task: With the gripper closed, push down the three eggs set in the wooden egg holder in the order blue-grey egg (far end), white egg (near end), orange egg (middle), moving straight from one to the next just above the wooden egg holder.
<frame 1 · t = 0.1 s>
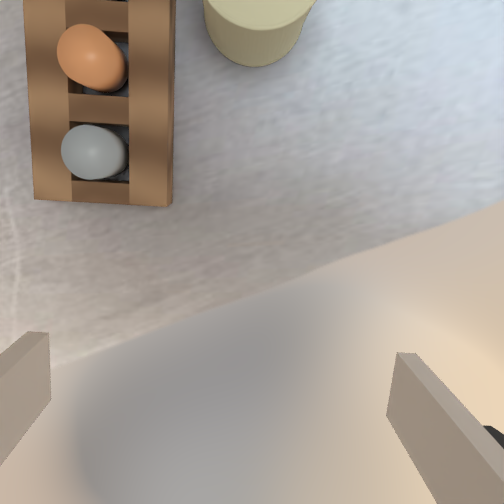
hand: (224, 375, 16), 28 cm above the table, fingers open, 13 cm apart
blue-grey egg: (97, 152, 36), point 4 cm above the table, slide at 0.0 cm
can: (254, 14, 38), on the table
wooden egg holder: (110, 71, 39), on the table
orange egg: (95, 61, 35), point 4 cm above the table, slide at 0.0 cm
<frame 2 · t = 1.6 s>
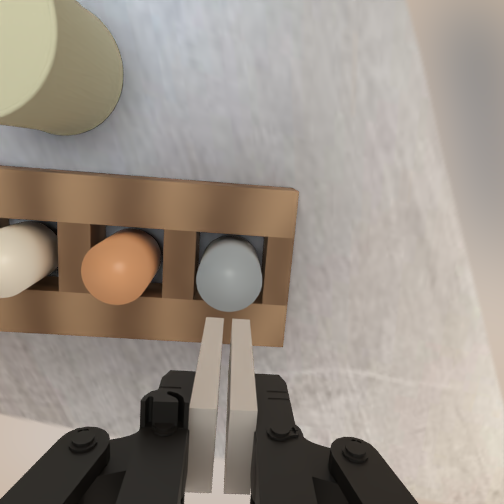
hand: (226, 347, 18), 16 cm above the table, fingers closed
white egg: (16, 257, 29), point 4 cm above the table, slide at 0.0 cm
blue-grey egg: (229, 271, 30), point 4 cm above the table, slide at 0.0 cm
can: (61, 70, 30), on the table
wooden egg holder: (138, 251, 33), on the table
orange egg: (124, 264, 29), point 4 cm above the table, slide at 0.0 cm
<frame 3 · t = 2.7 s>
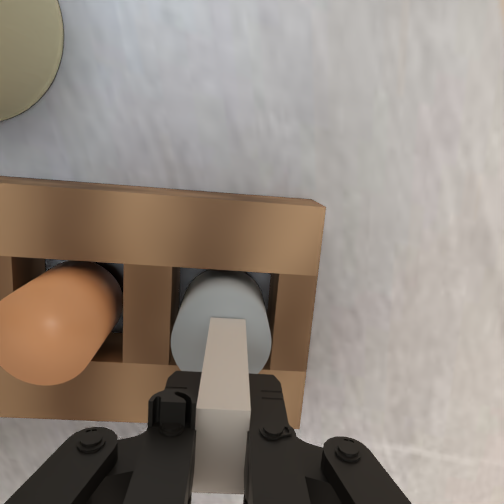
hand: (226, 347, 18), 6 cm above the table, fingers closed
blue-grey egg: (222, 322, 20), point 4 cm above the table, slide at 0.4 cm, touching gripper
wooden egg holder: (92, 289, 23), on the table
orange egg: (63, 317, 19), point 4 cm above the table, slide at 0.0 cm
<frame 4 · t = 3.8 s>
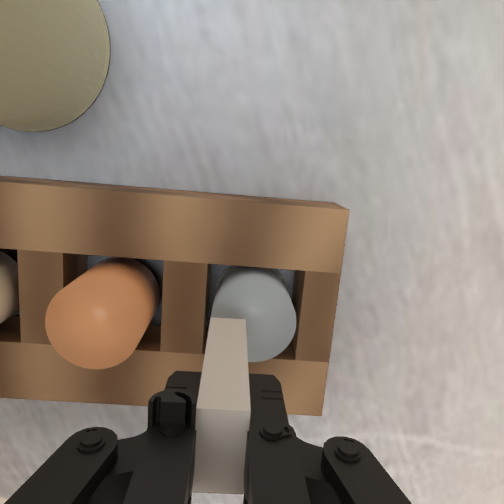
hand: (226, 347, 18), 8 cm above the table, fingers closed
blue-grey egg: (252, 307, 23), point 3 cm above the table, slide at 1.7 cm
can: (26, 44, 22), on the table
wooden egg holder: (129, 284, 25), on the table
orange egg: (108, 308, 21), point 4 cm above the table, slide at 0.0 cm
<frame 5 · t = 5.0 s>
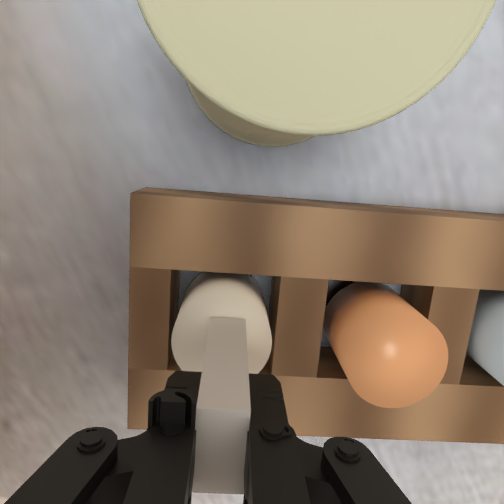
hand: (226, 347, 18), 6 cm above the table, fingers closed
white egg: (223, 322, 20), point 3 cm above the table, slide at 1.0 cm, touching gripper
can: (273, 52, 21), on the table
wooden egg holder: (353, 307, 24), on the table
orange egg: (378, 339, 20), point 4 cm above the table, slide at 0.0 cm
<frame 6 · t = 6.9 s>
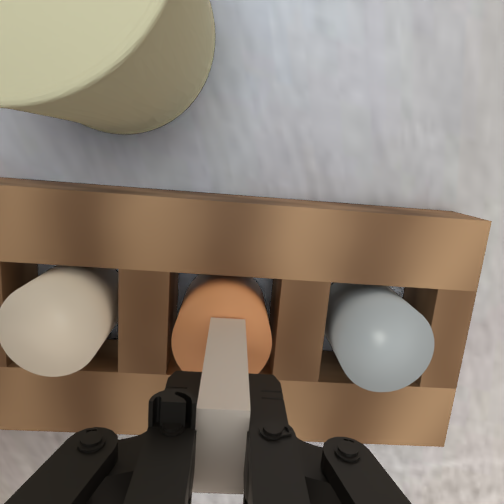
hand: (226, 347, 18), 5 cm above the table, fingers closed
white egg: (69, 311, 20), point 3 cm above the table, slide at 1.7 cm
blue-grey egg: (370, 328, 21), point 3 cm above the table, slide at 1.7 cm
can: (119, 35, 20), on the table
wooden egg holder: (224, 302, 23), on the table
orange egg: (223, 322, 20), point 3 cm above the table, slide at 1.4 cm, touching gripper
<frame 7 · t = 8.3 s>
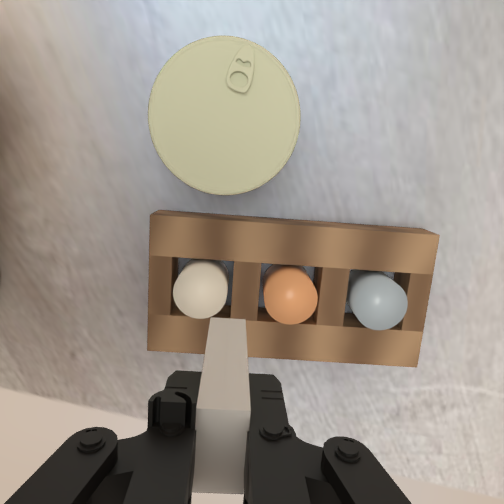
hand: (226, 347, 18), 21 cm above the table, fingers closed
white egg: (202, 285, 36), point 3 cm above the table, slide at 1.7 cm
blue-grey egg: (372, 296, 36), point 3 cm above the table, slide at 1.7 cm
can: (231, 132, 36), on the table
wooden egg holder: (285, 282, 39), on the table
orange egg: (288, 290, 36), point 3 cm above the table, slide at 1.7 cm
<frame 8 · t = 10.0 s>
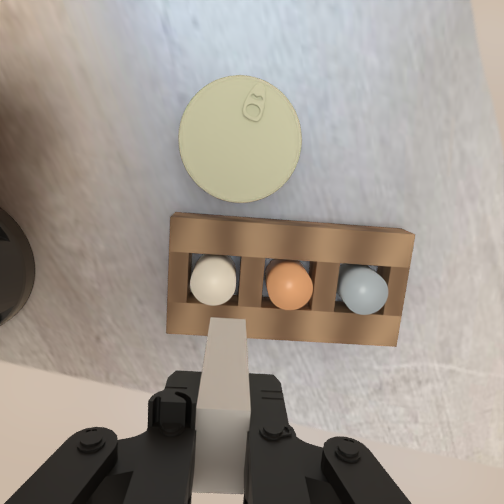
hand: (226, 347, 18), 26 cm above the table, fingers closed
white egg: (214, 277, 42), point 3 cm above the table, slide at 1.7 cm
blue-grey egg: (359, 286, 43), point 3 cm above the table, slide at 1.7 cm
can: (239, 145, 42), on the table
wooden egg holder: (284, 275, 45), on the table
orange egg: (287, 281, 42), point 3 cm above the table, slide at 1.7 cm
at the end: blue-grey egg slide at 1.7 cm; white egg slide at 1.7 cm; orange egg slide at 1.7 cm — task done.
